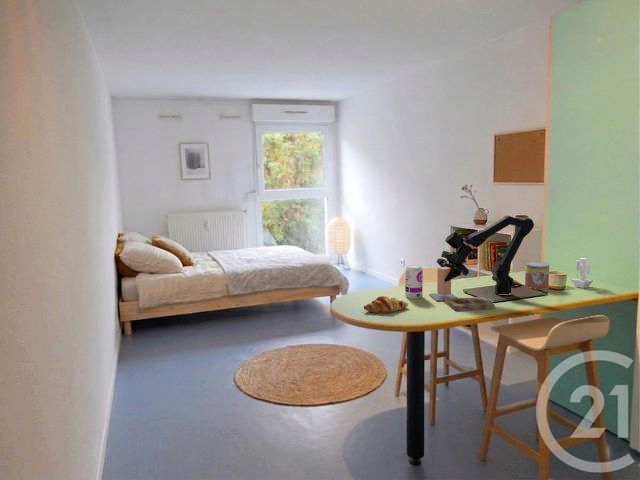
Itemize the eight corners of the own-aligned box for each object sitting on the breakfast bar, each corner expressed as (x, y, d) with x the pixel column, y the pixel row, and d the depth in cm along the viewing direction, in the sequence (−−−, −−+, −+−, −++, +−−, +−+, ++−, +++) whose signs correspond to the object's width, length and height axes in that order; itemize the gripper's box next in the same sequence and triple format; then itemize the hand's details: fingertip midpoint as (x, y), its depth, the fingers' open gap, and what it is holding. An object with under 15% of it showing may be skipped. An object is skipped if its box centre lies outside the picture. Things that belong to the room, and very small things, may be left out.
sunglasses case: (525, 285, 255) (519, 275, 254) (514, 293, 255) (509, 283, 253) (505, 278, 273) (500, 268, 271) (495, 285, 272) (489, 275, 271)
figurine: (594, 287, 250) (596, 258, 248) (582, 289, 246) (584, 260, 244) (581, 284, 256) (582, 256, 254) (569, 286, 252) (570, 257, 250)
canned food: (526, 289, 249) (527, 266, 247) (523, 284, 260) (523, 261, 258) (550, 290, 246) (551, 266, 245) (546, 284, 257) (547, 262, 255)
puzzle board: (482, 301, 229) (482, 296, 229) (494, 308, 217) (494, 304, 216) (444, 302, 227) (445, 298, 227) (454, 310, 215) (454, 306, 215)
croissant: (404, 313, 224) (401, 296, 227) (414, 309, 215) (410, 291, 218) (361, 317, 218) (358, 300, 220) (369, 313, 209) (366, 294, 211)
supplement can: (425, 296, 239) (425, 266, 237) (416, 300, 234) (416, 269, 231) (411, 293, 245) (411, 264, 243) (402, 297, 239) (402, 267, 237)
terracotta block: (445, 291, 239) (445, 266, 237) (450, 294, 234) (451, 268, 233) (437, 293, 237) (437, 267, 235) (443, 295, 233) (443, 269, 231)
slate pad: (450, 294, 242) (450, 292, 242) (459, 300, 231) (459, 298, 231) (429, 295, 241) (429, 293, 241) (436, 301, 230) (436, 299, 230)
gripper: (439, 242, 242) (420, 266, 240) (464, 247, 225) (444, 273, 223) (452, 256, 246) (434, 280, 244) (477, 262, 229) (457, 288, 227)
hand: (441, 280), depth 234 cm, fingers closed on terracotta block, 4 cm apart
